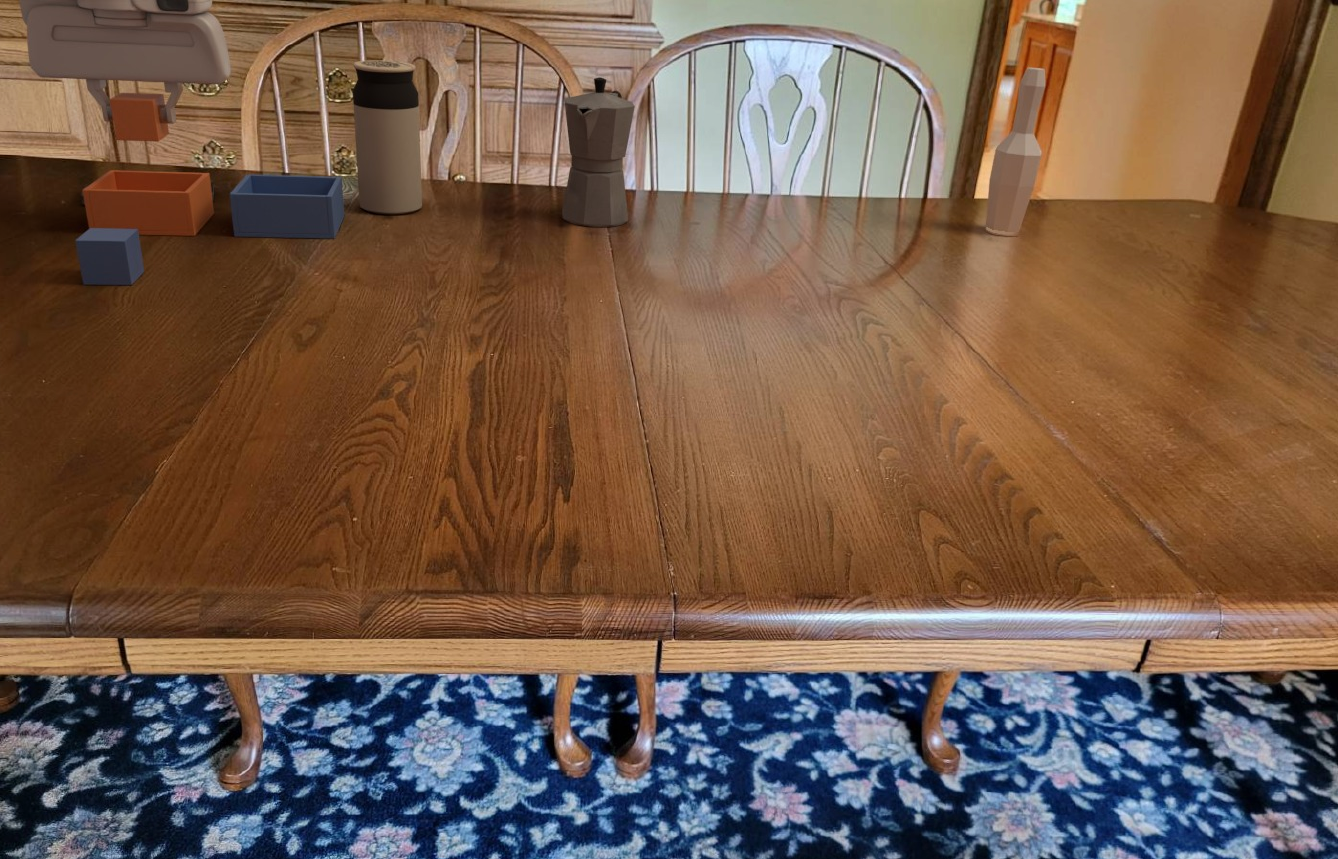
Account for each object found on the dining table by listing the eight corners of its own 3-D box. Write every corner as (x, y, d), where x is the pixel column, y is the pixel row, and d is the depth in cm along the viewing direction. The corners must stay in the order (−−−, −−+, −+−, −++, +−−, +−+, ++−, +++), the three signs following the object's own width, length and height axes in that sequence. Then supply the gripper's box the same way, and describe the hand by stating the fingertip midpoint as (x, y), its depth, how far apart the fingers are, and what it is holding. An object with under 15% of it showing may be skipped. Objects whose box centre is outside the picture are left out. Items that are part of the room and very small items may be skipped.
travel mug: (367, 217, 133) (359, 68, 126) (353, 202, 140) (344, 59, 132) (429, 213, 137) (425, 68, 129) (413, 199, 143) (407, 60, 135)
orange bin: (89, 233, 119) (82, 189, 117) (117, 211, 128) (110, 170, 126) (194, 236, 121) (189, 192, 119) (214, 213, 130) (209, 172, 128)
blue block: (83, 284, 104) (75, 240, 102) (97, 270, 108) (90, 227, 106) (131, 285, 105) (124, 241, 103) (144, 271, 109) (138, 228, 107)
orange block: (116, 140, 118) (109, 98, 116) (127, 132, 122) (121, 92, 120) (158, 141, 119) (152, 100, 117) (169, 134, 123) (163, 94, 121)
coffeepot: (614, 234, 133) (620, 87, 126) (544, 225, 135) (546, 79, 128) (646, 208, 147) (654, 74, 139) (582, 200, 149) (586, 67, 141)
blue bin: (234, 236, 122) (229, 193, 120) (250, 214, 131) (246, 174, 129) (334, 238, 124) (331, 196, 122) (344, 216, 133) (341, 176, 131)
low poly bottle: (1030, 239, 146) (1067, 73, 136) (984, 236, 146) (1018, 69, 136) (1018, 227, 151) (1052, 67, 142) (974, 224, 151) (1005, 64, 142)
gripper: (4, -14, 109) (31, 123, 115) (213, -3, 113) (228, 130, 119) (27, -17, 115) (51, 113, 121) (225, -7, 118) (240, 120, 124)
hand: (141, 121), depth 120 cm, fingers closed on orange block, 4 cm apart
